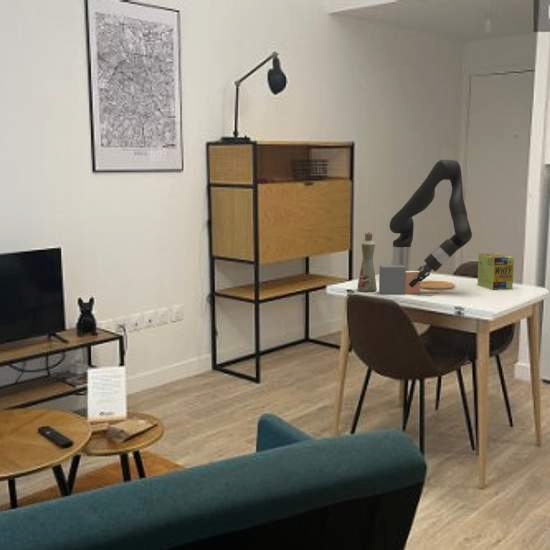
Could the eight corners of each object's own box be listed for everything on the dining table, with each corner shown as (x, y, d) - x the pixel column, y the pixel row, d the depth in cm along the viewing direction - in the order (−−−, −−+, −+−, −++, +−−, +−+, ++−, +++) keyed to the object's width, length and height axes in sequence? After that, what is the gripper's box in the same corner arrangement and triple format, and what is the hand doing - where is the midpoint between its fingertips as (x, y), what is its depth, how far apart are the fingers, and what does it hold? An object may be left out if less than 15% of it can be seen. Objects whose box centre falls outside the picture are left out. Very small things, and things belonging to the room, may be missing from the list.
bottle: (375, 293, 313) (377, 233, 308) (356, 292, 315) (357, 232, 311) (377, 290, 321) (378, 231, 317) (358, 289, 323) (359, 231, 319)
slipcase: (380, 295, 308) (381, 267, 306) (379, 292, 315) (379, 265, 313) (405, 295, 308) (405, 267, 306) (402, 292, 314) (403, 265, 312)
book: (389, 294, 310) (389, 272, 308) (388, 293, 313) (388, 271, 312) (420, 293, 309) (419, 271, 308) (418, 292, 313) (418, 270, 311)
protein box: (492, 290, 319) (494, 257, 317) (477, 284, 334) (478, 253, 332) (513, 289, 321) (514, 257, 319) (496, 284, 336) (497, 253, 334)
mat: (414, 293, 313) (414, 292, 313) (431, 291, 317) (431, 290, 317) (429, 296, 304) (429, 295, 304) (445, 294, 309) (446, 293, 309)
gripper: (428, 251, 315) (401, 277, 317) (434, 255, 301) (406, 282, 303) (439, 262, 316) (412, 288, 318) (446, 267, 302) (418, 293, 304)
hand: (409, 285), depth 311 cm, fingers closed on book, 3 cm apart
